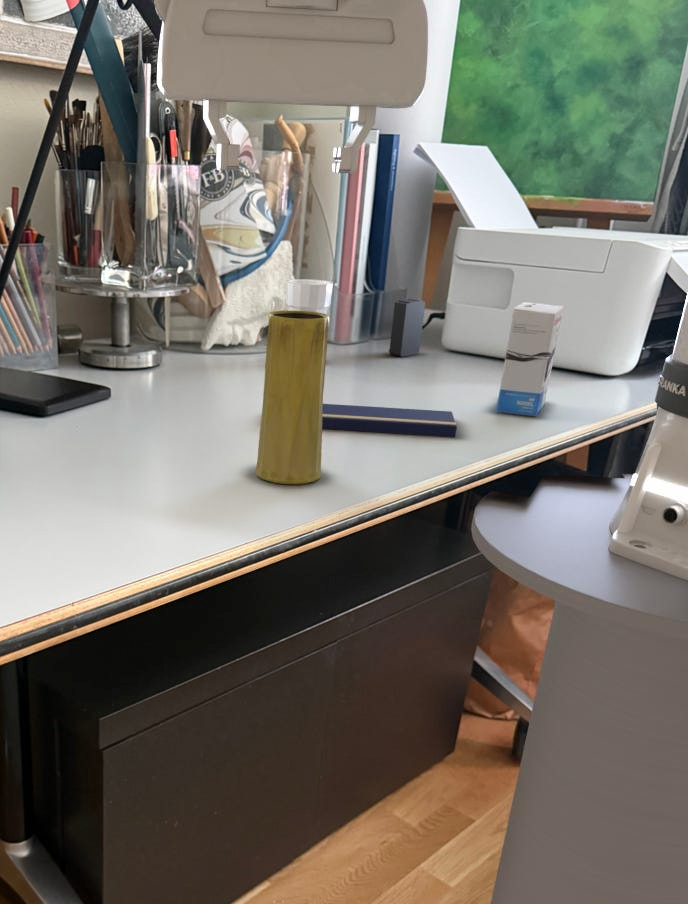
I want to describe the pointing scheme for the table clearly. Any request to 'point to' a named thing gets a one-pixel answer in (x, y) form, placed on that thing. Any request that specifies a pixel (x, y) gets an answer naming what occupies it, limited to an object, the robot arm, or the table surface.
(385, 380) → the table surface
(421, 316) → the ink cartridge
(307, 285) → the cup
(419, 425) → the navy blue flat box
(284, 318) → the vase
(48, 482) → the table surface
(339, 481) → the table surface
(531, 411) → the ink box
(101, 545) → the table surface
